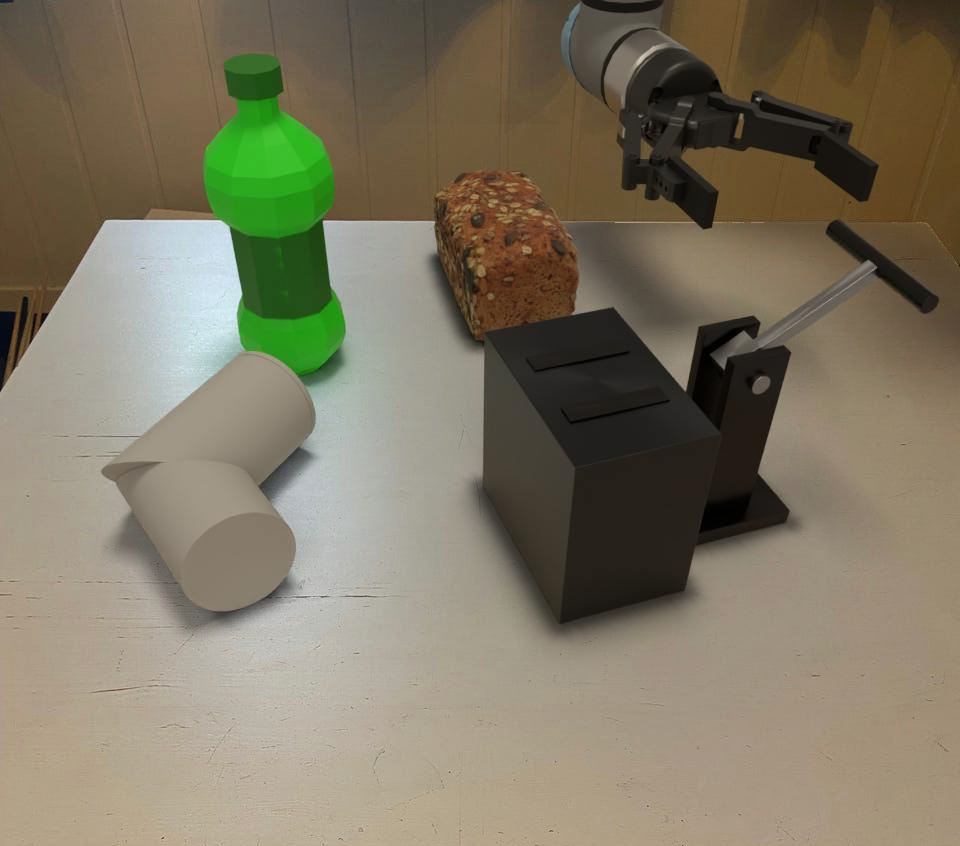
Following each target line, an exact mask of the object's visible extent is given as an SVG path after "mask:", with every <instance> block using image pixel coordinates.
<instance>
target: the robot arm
mask: <svg viewBox="0 0 960 846" xmlns="http://www.w3.org/2000/svg"><path fill="white" fill-rule="evenodd" d="M664 2H665V0H579V2H578V4H577V5H576V6H575V7H574V8H573V9H572V10H571V11H570V13H569V14H568V15H569V16H568V17H567V19H566V21H565V24H564V26H563V28H562V31H561V36H560V51H561V57H562V61H563V63H564V65H565V67H566V69H567V70H568V71H569V73H570V74H571V75H572V76H573V78H574V79H575V81H577V84H578V85H579V86H580V87H581V88H582V89H583V90H584V91H586V92H588V93H589V94H590V95H592V96H594V97H595V98H596V99H598V100H599V101H600V102H601V103H603V104H604V105H606V107H607V108H608V109H609V110H610V111H611V112H612V113H613V114H615V115H616V116H618V123H617V133H616V141H615V142H616V143H617V144H618V146H619V147H620V148H621V150H622V163H621V165H622V166H621V182H620V183H621V185H620V188H621V189H622V190H624V191H631V192H632V191H635V190H637V187H638V185H645V189H644V195H643V196H644V197H643V198H644V199H645V200H647V201H658V200H659V199H660V196H661V197H662V198H663V199H664V200H666V201H667V202H670V203H673V204H675V205H676V206H677V207H678V208H679V209H680V210H681V211H683V213H685V214H686V216H688V217H689V218H690V219H691V220H692V221H693V222H694V223H695V224H696V225H697V226H698V227H700V229H702V230H709V229H713V224H714V220H715V214H716V209H717V203H718V199H719V193H720V191H719V190H718V189H717V188H716V187H715V186H714V185H712V184H711V183H710V182H709V181H708V180H706V179H705V178H704V177H703V176H702V175H701V174H699V172H697V171H696V170H695V169H694V168H693V167H692V166H691V165H690V164H688V163H687V162H686V161H685V160H683V159H682V157H683V155H684V153H686V152H687V150H689V149H694V151H696V150H704V149H707V148H710V149H715V148H718V147H720V148H725V149H729V150H732V151H737V152H745V151H747V150H748V149H749V148H753V149H757V150H761V151H766V152H771V153H775V154H780V155H782V156H783V155H784V156H787V157H788V156H789V157H793V158H797V159H802V160H806V161H811V162H814V165H813V169H814V170H816V171H817V172H819V174H821V175H823V176H824V177H825V178H826V179H828V180H829V181H831V182H832V183H833V184H835V185H836V186H837V187H839V188H840V189H841V190H843V192H845V193H846V194H847V195H849V196H850V197H851V198H853V199H854V200H856V201H857V202H859V203H863V202H864V203H865V202H869V199H870V196H871V193H872V189H873V186H874V182H875V180H876V176H877V173H878V169H879V167H880V165H879V164H878V163H877V162H875V161H874V160H872V159H871V158H869V157H868V156H867V155H866V154H864V153H862V152H861V151H860V150H858V149H856V148H855V147H854V146H852V145H851V144H849V143H850V139H851V135H852V132H853V128H854V122H852V121H850V120H846V119H843V118H840V117H837V116H833V115H831V114H827V113H825V112H821V111H818V110H814V109H812V108H808V107H805V106H803V105H798V104H796V103H793V102H789V101H786V100H783V99H780V98H777V97H775V96H774V95H772V94H770V93H768V92H766V91H764V90H762V89H756V90H752V91H751V96H750V100H749V101H745V100H741V99H737V98H734V97H731V96H730V95H729V94H728V93H725V92H724V91H723V89H722V87H721V84H720V79H719V78H718V75H717V74H716V72H715V69H713V68H712V67H711V66H710V65H709V64H708V63H707V62H705V61H704V60H702V59H701V58H699V57H698V56H697V55H695V54H694V53H692V52H691V51H690V50H689V49H688V48H686V47H685V46H684V45H682V44H681V43H680V42H678V41H676V40H674V39H673V38H671V37H670V36H668V35H667V34H666V33H665V32H664V31H662V30H660V28H661V21H662V15H663V9H664V8H663V7H664ZM741 120H743V124H742V129H741V135H740V138H739V137H735V136H736V133H737V130H738V127H739V122H740V121H741ZM642 140H643V141H644V142H645V143H646V144H647V145H648V146H649V147H650V148H652V150H651V152H650V154H649V158H641V156H642V150H641V149H642Z"/></svg>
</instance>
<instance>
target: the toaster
mask: <svg viewBox="0 0 960 846" xmlns="http://www.w3.org/2000/svg"><path fill="white" fill-rule="evenodd" d="M483 342H484V343H483V344H484V345H483V347H484V348H483V361H484V362H483V427H482V428H483V429H482V431H483V432H482V434H483V435H482V436H483V437H482V439H483V440H482V488H483V489H484V491H485V493H486V494H487V497H488V498H489V500H490V502H491V503H492V505H493V507H494V509H495V510H496V512H497V514H498V516H499V518H500V520H501V522H502V523H503V525H504V526H505V529H506V530H507V532H508V534H509V536H510V538H511V540H512V541H513V543H514V545H515V546H516V548H517V550H518V552H519V553H520V555H521V557H522V559H523V560H524V563H525V564H526V566H527V568H528V570H529V571H530V573H531V575H532V576H533V578H534V580H535V582H536V584H537V585H538V587H539V589H540V591H541V592H542V595H543V596H544V598H545V600H546V601H547V604H548V605H549V607H550V609H551V611H552V612H553V614H554V616H555V619H556V620H557V621H558V623H559V624H565V623H568V622H571V621H575V620H579V619H582V618H586V617H591V616H594V615H599V614H601V613H605V612H609V611H613V610H616V609H619V608H624V607H627V606H631V605H634V604H638V603H642V602H646V601H649V600H654V599H657V598H661V597H665V596H668V595H671V594H675V593H680V592H683V591H685V590H686V587H687V583H688V579H689V575H690V571H691V568H692V567H691V566H692V562H693V558H694V554H695V551H696V550H695V549H696V546H697V545H696V542H697V537H698V533H699V529H700V525H701V521H702V516H703V512H704V508H705V504H706V500H707V495H708V491H709V487H710V483H711V478H712V474H713V470H714V466H715V462H716V457H717V453H718V449H719V445H720V440H721V436H722V434H721V433H720V432H719V430H718V429H717V428H716V427H715V426H714V425H713V423H712V422H711V421H710V420H709V419H708V417H707V416H706V415H705V414H704V413H703V412H702V410H701V409H700V408H699V407H698V406H697V405H696V403H695V402H694V401H693V400H692V399H691V398H690V396H689V395H688V394H687V393H686V390H685V389H684V388H683V387H682V386H681V384H680V383H679V382H678V381H677V380H676V379H675V377H673V375H672V374H671V372H669V370H668V369H667V368H666V367H665V366H664V364H662V362H661V361H660V360H659V359H658V358H657V356H656V355H655V354H654V353H653V352H652V351H651V349H650V348H649V347H648V346H647V345H646V343H645V342H644V341H643V340H642V339H641V338H640V336H639V335H638V334H637V333H636V332H635V331H634V329H633V328H632V327H631V325H629V324H628V322H627V321H626V320H625V319H624V318H623V317H622V315H621V314H620V313H619V312H618V311H617V310H616V309H615V307H614V306H612V307H607V308H601V309H596V310H591V311H586V312H580V313H576V314H571V315H570V316H564V317H559V318H554V319H549V320H543V321H538V322H533V323H528V324H523V325H517V326H512V327H507V328H502V329H497V330H491V331H486V332H485V335H484V341H483Z"/></svg>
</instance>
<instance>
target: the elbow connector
mask: <svg viewBox="0 0 960 846" xmlns="http://www.w3.org/2000/svg"><path fill="white" fill-rule="evenodd" d="M316 421H317V414H316V407H315V405H314V401H313V398H312V395H311V394H310V392H309V390H308V388H307V387H306V386H305V383H304V382H303V381H302V380H301V379H300V376H297V375H296V374H295V373H294V372H293V371H292V370H291V369H290V368H289V367H288V366H286V365H285V364H284V363H283V362H281V361H280V360H278V359H276V358H275V357H273V356H271V355H268V354H266V353H262V352H258V351H247V352H246V351H243V352H240V353H238V355H236V356H234V358H232V359H231V360H230V361H228V362H227V363H226V364H225V365H223V367H222V368H221V369H219V370H218V371H217V372H216V373H214V374H213V375H212V376H211V377H210V378H208V379H207V380H206V381H204V383H203V384H201V385H200V386H199V387H198V388H197V389H195V390H194V391H193V392H192V393H190V394H189V395H188V396H187V397H185V398H184V399H183V400H182V401H181V402H180V403H179V404H178V405H176V406H175V407H174V408H172V410H170V411H169V412H168V413H166V414H165V415H164V416H163V417H162V418H161V419H159V420H158V421H157V422H156V423H155V424H153V425H152V426H151V427H149V429H148V430H146V431H145V432H144V433H142V434H141V435H140V436H139V437H137V439H136V440H134V441H133V442H131V444H130V445H128V446H127V447H126V448H125V449H123V450H122V451H121V452H120V453H119V454H118V455H116V456H114V458H113V459H112V460H111V461H109V462H108V463H107V464H105V466H103V467H102V468H101V470H100V473H101V475H102V476H103V477H104V478H106V479H108V480H109V481H112V482H113V483H115V485H116V487H117V489H118V490H119V492H120V493H121V495H122V497H123V499H124V500H125V501H126V503H127V504H128V506H129V508H130V509H131V511H132V512H133V514H134V516H135V517H136V519H137V521H138V522H139V524H140V525H141V527H142V528H143V530H144V532H145V533H146V534H147V537H148V538H149V539H150V541H151V542H152V544H153V546H154V547H155V549H156V550H157V552H158V554H159V555H160V557H161V558H162V561H164V563H165V564H166V566H167V568H168V569H169V571H170V573H171V574H172V575H173V577H174V579H175V580H176V582H177V584H178V585H179V586H180V588H181V590H182V591H183V593H184V594H185V596H186V597H187V598H188V600H189V601H191V603H193V604H194V605H196V606H197V607H199V608H202V609H204V610H208V611H211V612H212V611H213V612H232V611H236V610H240V609H244V608H247V607H249V606H251V605H252V606H253V604H256V603H257V602H259V601H262V600H263V599H264V598H266V597H267V596H269V595H270V594H271V593H272V592H273V591H275V590H276V589H277V588H278V587H279V586H280V584H282V582H283V581H284V580H285V578H286V577H287V576H288V573H289V572H290V570H291V568H292V566H293V564H294V561H295V559H296V558H295V557H296V552H297V542H296V538H295V535H294V532H293V530H292V528H291V527H290V525H289V524H288V523H287V522H286V520H285V519H284V518H283V516H282V515H281V514H280V513H279V511H278V510H277V509H276V508H275V506H274V504H272V502H271V501H270V500H269V498H267V496H266V495H265V494H264V492H263V491H262V490H261V488H260V487H259V486H261V485H262V484H263V482H265V480H266V479H267V478H268V477H269V476H270V475H271V474H273V473H274V472H275V471H276V470H277V469H278V467H279V466H281V465H282V464H283V463H284V462H285V461H286V460H287V459H288V458H289V457H290V456H291V455H292V454H293V453H294V452H295V451H296V450H297V449H298V448H299V447H300V446H301V445H302V444H303V443H304V442H305V441H306V440H307V439H308V438H309V437H310V436H311V434H312V433H313V431H314V429H315V426H316Z"/></svg>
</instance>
